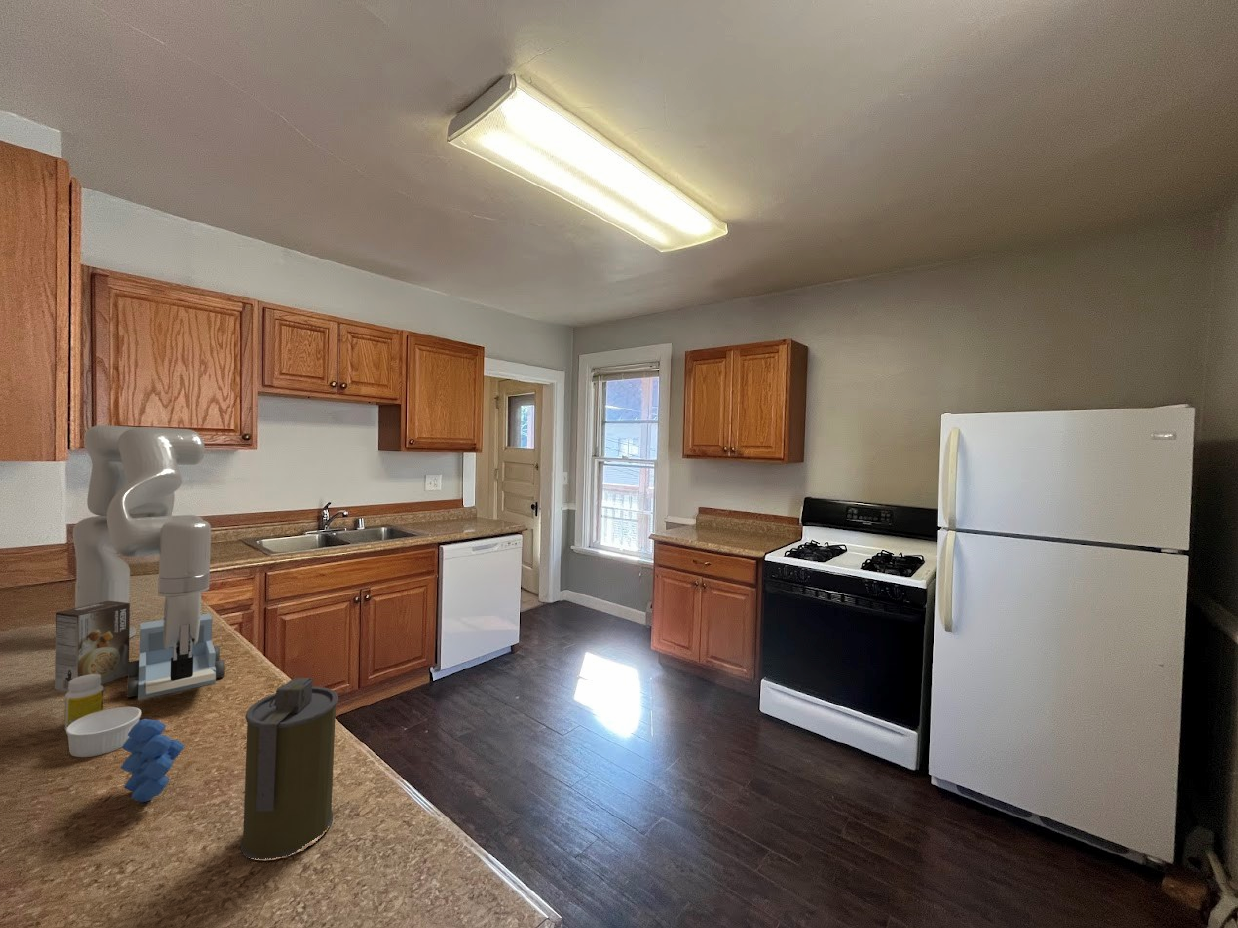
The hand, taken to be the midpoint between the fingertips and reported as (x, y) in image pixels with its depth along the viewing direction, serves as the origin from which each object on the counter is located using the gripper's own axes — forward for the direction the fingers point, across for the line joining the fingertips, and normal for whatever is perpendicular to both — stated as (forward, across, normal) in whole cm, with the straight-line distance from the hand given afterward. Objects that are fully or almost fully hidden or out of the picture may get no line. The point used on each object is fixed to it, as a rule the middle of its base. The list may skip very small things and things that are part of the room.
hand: (181, 677), depth 97 cm
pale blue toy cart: (+6, -16, 0) cm, 17 cm away
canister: (+7, +50, +9) cm, 51 cm away
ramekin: (+6, +8, -10) cm, 14 cm away
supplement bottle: (+6, -2, -13) cm, 14 cm away
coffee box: (+6, -23, -13) cm, 27 cm away
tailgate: (+3, -7, 0) cm, 8 cm away
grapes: (+6, +30, -4) cm, 31 cm away
